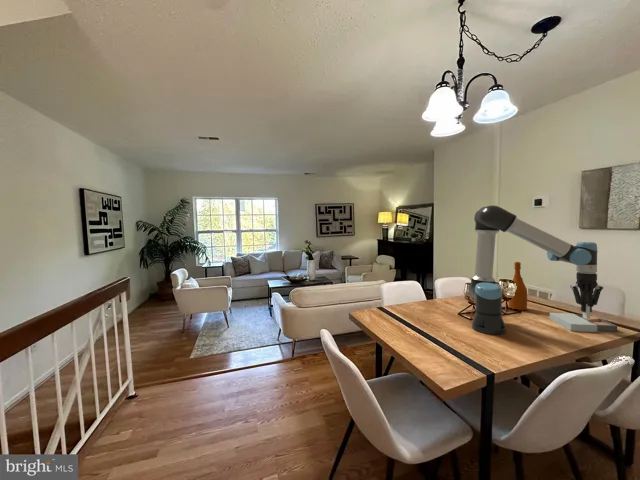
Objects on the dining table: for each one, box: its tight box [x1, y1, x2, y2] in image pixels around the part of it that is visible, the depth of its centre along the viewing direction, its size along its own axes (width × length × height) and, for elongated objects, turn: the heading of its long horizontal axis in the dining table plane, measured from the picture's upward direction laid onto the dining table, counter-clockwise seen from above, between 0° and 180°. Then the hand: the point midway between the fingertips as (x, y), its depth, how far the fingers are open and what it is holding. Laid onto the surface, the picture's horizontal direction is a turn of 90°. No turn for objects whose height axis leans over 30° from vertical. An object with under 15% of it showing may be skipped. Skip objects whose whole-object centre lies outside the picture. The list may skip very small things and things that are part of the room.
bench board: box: [549, 312, 598, 333], centre depth 144 cm, size 11×18×4 cm, turn 167°
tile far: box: [581, 315, 600, 323], centre depth 147 cm, size 5×5×2 cm
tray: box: [576, 314, 618, 333], centre depth 143 cm, size 8×16×3 cm, turn 167°
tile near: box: [593, 322, 610, 325], centre depth 138 cm, size 5×5×2 cm
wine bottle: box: [507, 261, 528, 311], centre depth 174 cm, size 10×10×30 cm
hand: (586, 318), depth 140 cm, fingers closed
